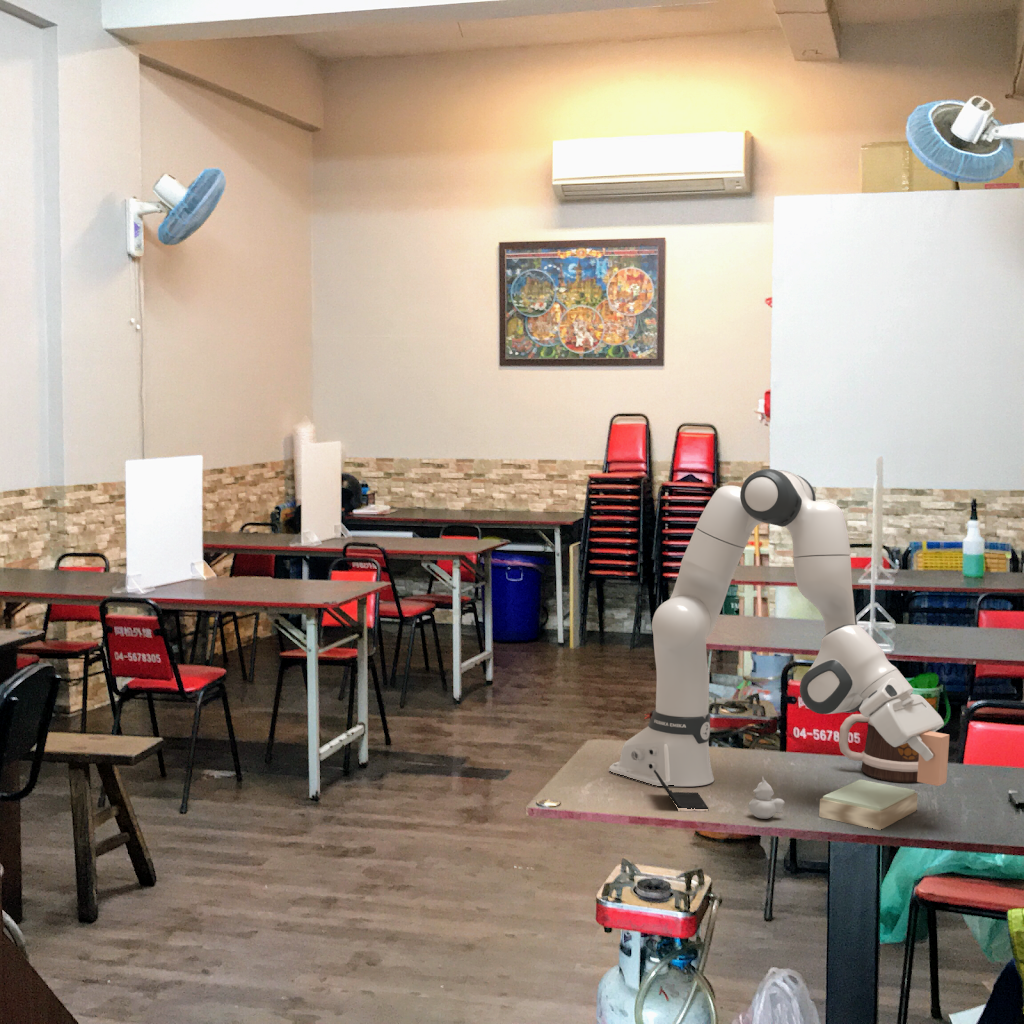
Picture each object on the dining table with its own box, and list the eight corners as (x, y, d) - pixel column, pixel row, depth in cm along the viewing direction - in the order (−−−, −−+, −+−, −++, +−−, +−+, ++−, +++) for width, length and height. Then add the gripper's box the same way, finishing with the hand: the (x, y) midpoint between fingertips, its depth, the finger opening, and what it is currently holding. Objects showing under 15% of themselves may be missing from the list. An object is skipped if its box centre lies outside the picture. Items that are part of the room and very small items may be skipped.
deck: (819, 816, 228) (820, 796, 227) (858, 798, 241) (859, 778, 241) (880, 830, 220) (880, 808, 220) (916, 810, 234) (917, 790, 234)
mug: (925, 769, 268) (928, 702, 267) (938, 786, 253) (941, 715, 252) (833, 763, 271) (836, 697, 270) (841, 780, 256) (844, 710, 255)
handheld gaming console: (719, 803, 230) (687, 762, 229) (691, 827, 228) (659, 786, 228) (698, 795, 241) (668, 756, 241) (671, 818, 239) (641, 779, 239)
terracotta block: (917, 781, 222) (920, 733, 222) (925, 778, 225) (928, 730, 225) (938, 786, 220) (941, 737, 219) (946, 782, 223) (949, 734, 222)
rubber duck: (748, 812, 229) (749, 771, 229) (783, 815, 228) (784, 774, 228) (748, 820, 224) (749, 778, 224) (784, 823, 223) (785, 781, 222)
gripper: (898, 699, 237) (944, 757, 231) (855, 711, 221) (903, 774, 216) (921, 680, 234) (969, 738, 228) (879, 691, 218) (929, 754, 213)
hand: (936, 756), depth 222 cm, fingers closed on terracotta block, 4 cm apart
